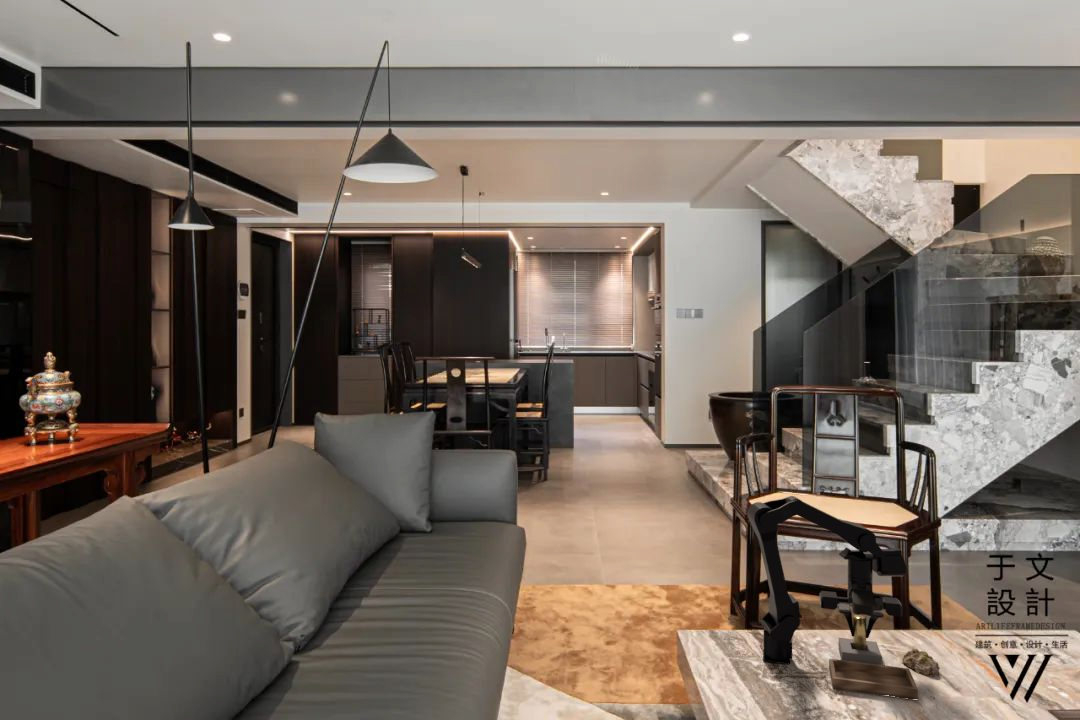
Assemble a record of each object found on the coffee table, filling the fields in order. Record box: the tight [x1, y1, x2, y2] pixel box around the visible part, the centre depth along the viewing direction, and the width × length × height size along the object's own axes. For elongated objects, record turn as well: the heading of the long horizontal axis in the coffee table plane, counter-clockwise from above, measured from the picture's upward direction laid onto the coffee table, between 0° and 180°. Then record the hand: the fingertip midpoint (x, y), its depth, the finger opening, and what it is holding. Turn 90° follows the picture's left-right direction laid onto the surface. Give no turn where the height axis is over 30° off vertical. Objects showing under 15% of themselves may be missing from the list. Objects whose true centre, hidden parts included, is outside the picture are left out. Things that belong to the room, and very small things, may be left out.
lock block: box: [838, 637, 883, 665], centre depth 176 cm, size 9×9×3 cm
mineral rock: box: [901, 648, 939, 677], centre depth 171 cm, size 11×4×8 cm
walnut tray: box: [828, 658, 919, 700], centre depth 162 cm, size 18×11×2 cm, turn 72°
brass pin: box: [852, 614, 867, 651], centre depth 176 cm, size 3×3×9 cm
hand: (859, 636), depth 176 cm, fingers closed on brass pin, 3 cm apart
